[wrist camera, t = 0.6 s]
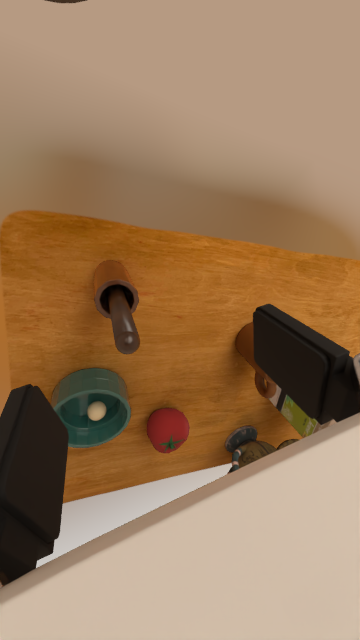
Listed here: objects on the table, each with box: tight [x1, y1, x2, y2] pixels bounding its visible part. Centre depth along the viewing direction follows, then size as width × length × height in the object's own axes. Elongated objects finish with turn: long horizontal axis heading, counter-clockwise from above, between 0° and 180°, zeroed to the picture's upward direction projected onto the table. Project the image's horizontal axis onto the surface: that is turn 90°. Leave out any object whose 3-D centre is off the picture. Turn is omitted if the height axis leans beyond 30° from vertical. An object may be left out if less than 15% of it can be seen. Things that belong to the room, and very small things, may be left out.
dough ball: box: [87, 401, 106, 421], centre depth 39 cm, size 3×3×3 cm
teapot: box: [225, 426, 299, 474], centre depth 52 cm, size 12×25×23 cm, turn 82°
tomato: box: [147, 408, 190, 453], centre depth 44 cm, size 8×8×7 cm
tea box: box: [268, 385, 337, 438], centre depth 49 cm, size 15×10×15 cm, turn 88°
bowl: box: [50, 368, 131, 448], centre depth 37 cm, size 12×12×6 cm
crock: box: [94, 260, 139, 319], centre depth 28 cm, size 4×4×9 cm
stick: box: [106, 284, 140, 354], centre depth 24 cm, size 2×2×18 cm
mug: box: [236, 322, 277, 398], centre depth 43 cm, size 12×8×9 cm, turn 174°
